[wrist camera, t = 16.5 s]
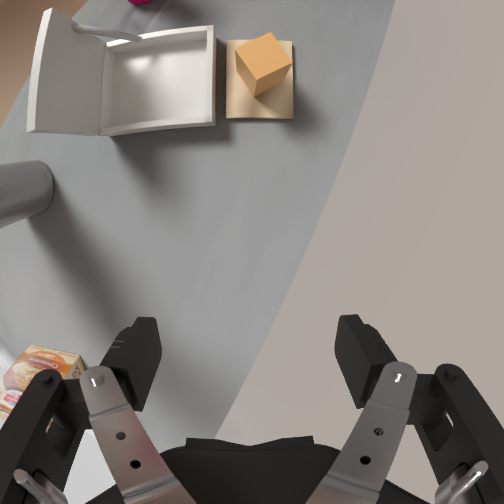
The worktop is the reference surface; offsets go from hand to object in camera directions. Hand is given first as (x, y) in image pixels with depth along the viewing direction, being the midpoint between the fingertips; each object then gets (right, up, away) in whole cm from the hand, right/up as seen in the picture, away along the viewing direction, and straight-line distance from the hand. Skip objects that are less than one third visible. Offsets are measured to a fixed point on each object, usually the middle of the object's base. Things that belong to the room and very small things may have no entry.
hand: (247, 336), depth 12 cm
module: (+1, +27, +22) cm, 35 cm away
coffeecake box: (-43, -20, +38) cm, 60 cm away
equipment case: (-13, +27, +22) cm, 38 cm away
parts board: (+1, +28, +23) cm, 36 cm away
